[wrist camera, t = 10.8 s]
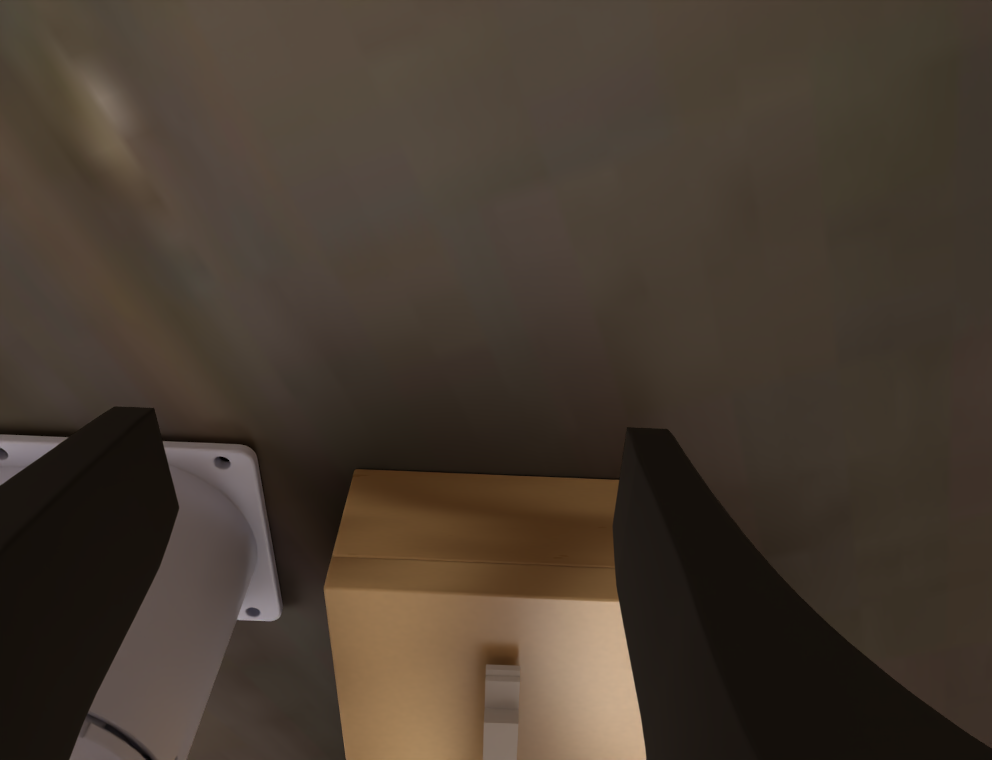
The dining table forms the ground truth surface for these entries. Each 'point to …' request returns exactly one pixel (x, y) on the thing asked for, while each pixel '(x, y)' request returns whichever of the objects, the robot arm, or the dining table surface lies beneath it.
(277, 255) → the dining table surface
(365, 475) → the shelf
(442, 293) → the dining table surface
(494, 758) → the caliper
